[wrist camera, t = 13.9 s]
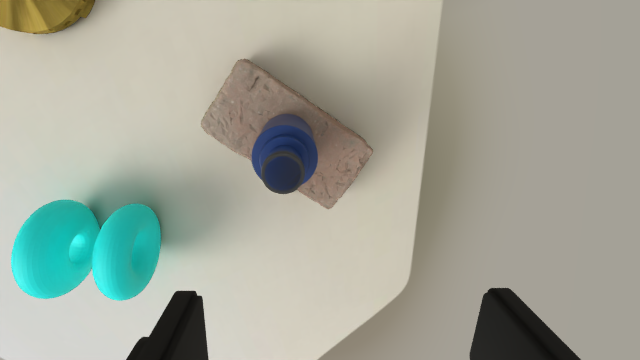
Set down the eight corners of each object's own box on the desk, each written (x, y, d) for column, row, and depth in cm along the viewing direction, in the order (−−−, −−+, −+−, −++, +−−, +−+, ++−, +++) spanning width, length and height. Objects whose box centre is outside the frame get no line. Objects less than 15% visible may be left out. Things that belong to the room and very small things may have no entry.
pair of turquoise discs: (70, 185, 36) (-11, 226, 26) (161, 190, 37) (115, 231, 27) (83, 261, 39) (15, 321, 29) (167, 264, 40) (127, 323, 30)
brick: (205, 121, 35) (192, 129, 30) (244, 54, 33) (236, 52, 28) (327, 197, 39) (332, 213, 34) (368, 141, 37) (378, 151, 32)
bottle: (314, 114, 31) (323, 136, 20) (312, 165, 32) (320, 210, 22) (260, 112, 30) (241, 133, 20) (261, 164, 32) (244, 209, 21)
